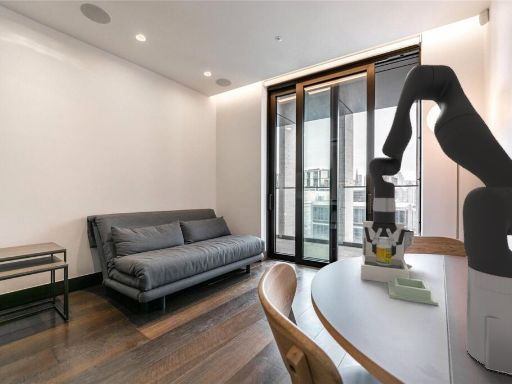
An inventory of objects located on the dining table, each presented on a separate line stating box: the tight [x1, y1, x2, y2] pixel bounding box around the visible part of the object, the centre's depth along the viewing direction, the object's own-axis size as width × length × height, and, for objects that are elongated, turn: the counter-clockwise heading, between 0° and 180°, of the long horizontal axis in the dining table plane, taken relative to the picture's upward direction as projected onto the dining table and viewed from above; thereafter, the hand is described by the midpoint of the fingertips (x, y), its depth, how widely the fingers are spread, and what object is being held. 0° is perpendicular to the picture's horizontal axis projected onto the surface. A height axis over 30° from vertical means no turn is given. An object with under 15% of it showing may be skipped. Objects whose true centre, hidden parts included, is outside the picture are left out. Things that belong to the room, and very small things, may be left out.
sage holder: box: [387, 276, 439, 306], centre depth 78 cm, size 12×12×3 cm
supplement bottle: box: [376, 238, 392, 266], centre depth 94 cm, size 5×5×10 cm
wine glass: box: [404, 228, 415, 269], centre depth 106 cm, size 8×8×15 cm
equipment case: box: [360, 220, 410, 284], centre depth 95 cm, size 17×15×19 cm
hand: (383, 254), depth 94 cm, fingers closed on supplement bottle, 5 cm apart
